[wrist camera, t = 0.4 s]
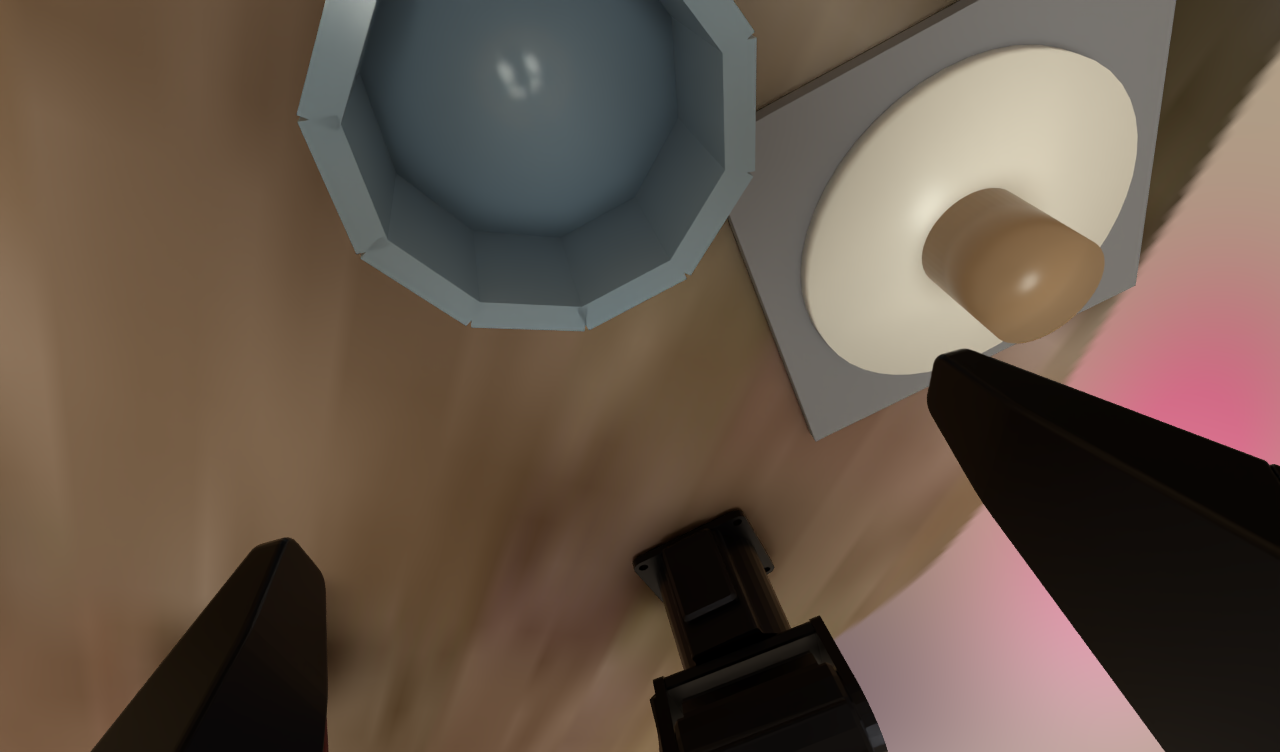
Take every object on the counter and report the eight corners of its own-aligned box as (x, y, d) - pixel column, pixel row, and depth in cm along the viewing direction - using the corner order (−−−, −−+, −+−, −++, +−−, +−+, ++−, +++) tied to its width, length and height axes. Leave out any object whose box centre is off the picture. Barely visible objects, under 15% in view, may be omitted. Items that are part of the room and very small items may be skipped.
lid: (1106, 276, 28) (1203, 338, 25) (837, 408, 30) (893, 485, 26) (1137, -36, 20) (1291, -11, 16) (759, 166, 21) (825, 231, 18)
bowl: (742, 151, 21) (807, 215, 18) (470, 298, 22) (477, 388, 19) (613, -228, 15) (673, -254, 11) (238, 4, 16) (175, 51, 12)
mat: (1124, 279, 30) (1135, 285, 29) (810, 432, 31) (815, 441, 31) (1174, -117, 19) (1192, -116, 19) (698, 143, 21) (704, 149, 20)
